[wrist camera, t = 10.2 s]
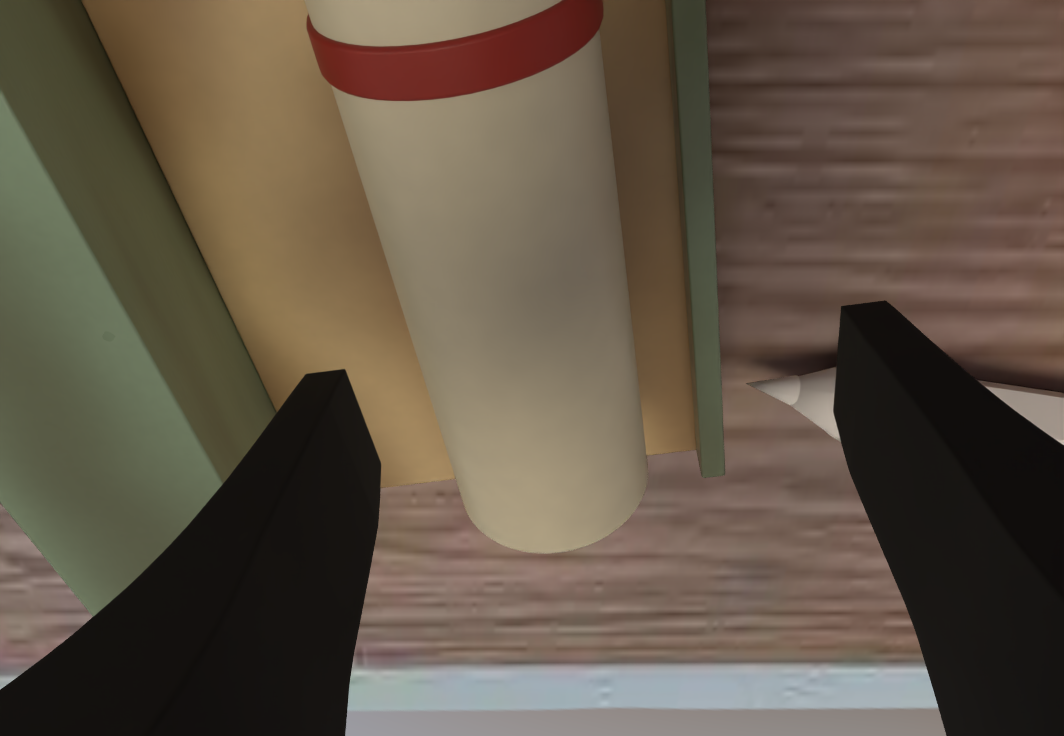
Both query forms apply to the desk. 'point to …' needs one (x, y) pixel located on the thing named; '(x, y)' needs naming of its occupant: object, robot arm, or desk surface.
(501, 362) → the red-banded cream cylinder
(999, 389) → the marker
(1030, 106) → the desk surface
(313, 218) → the tray with green block
